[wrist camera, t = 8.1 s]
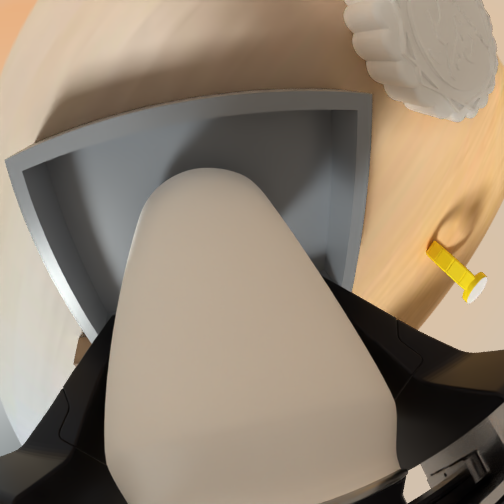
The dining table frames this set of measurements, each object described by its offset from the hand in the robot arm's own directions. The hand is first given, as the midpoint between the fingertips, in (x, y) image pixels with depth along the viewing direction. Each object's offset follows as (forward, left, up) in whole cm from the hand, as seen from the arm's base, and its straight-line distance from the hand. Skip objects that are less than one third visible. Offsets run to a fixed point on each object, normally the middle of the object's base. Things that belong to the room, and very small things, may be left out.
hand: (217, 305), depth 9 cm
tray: (0, 0, -7) cm, 7 cm away
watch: (-19, +7, -7) cm, 22 cm away
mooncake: (-14, -11, -7) cm, 20 cm away
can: (0, 0, -5) cm, 5 cm away
